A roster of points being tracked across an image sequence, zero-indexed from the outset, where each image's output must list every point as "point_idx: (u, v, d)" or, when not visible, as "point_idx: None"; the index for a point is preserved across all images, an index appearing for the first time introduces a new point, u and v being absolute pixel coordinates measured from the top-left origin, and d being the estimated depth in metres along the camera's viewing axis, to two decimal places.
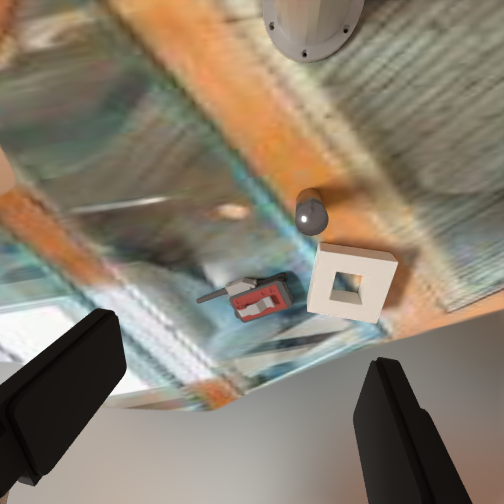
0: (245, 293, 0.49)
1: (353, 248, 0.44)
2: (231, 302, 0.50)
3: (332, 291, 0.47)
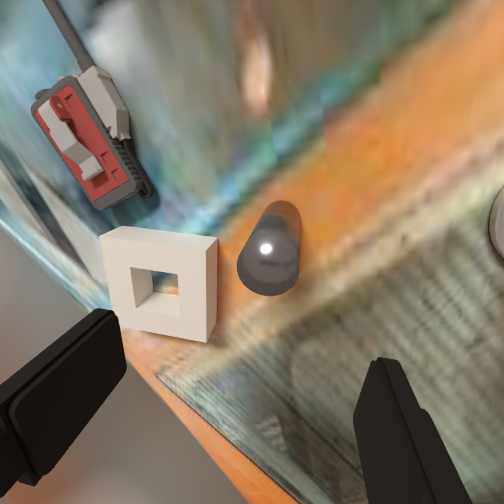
0: (93, 117, 0.24)
1: (215, 283, 0.31)
2: (63, 82, 0.23)
3: None
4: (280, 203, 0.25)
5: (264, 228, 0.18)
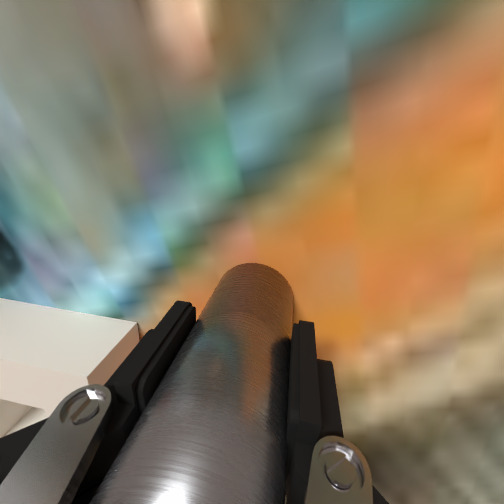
0: None
1: None
2: None
3: None
4: (248, 276, 0.11)
5: None
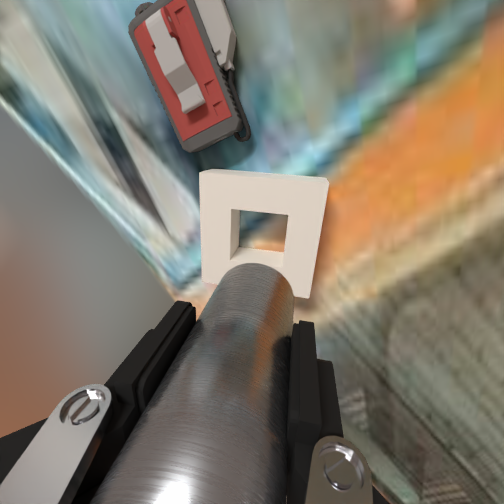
0: (203, 37, 0.21)
1: None
2: None
3: (238, 210, 0.28)
4: (248, 276, 0.11)
5: None
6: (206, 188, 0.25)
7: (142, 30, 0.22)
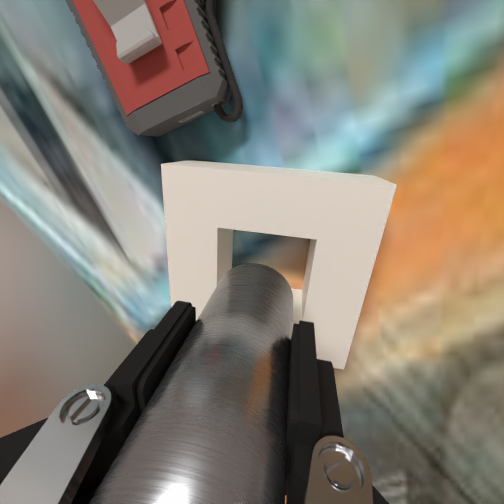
0: None
1: None
2: None
3: None
4: (248, 276, 0.11)
5: None
6: (174, 192, 0.14)
7: None
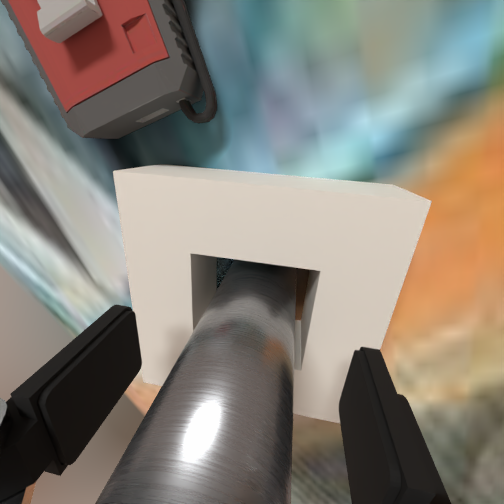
0: None
1: None
2: None
3: None
4: None
5: (191, 384, 0.06)
6: (133, 207, 0.11)
7: None
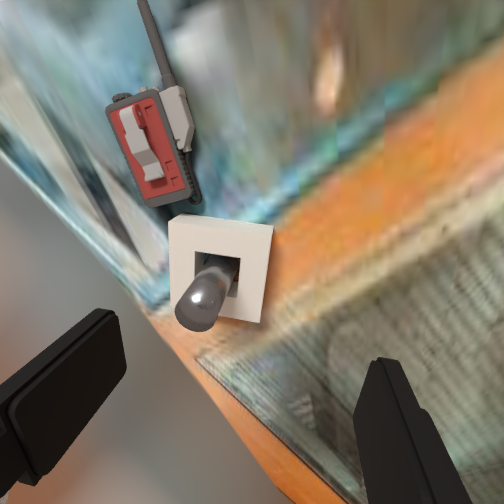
0: (166, 129, 0.27)
1: (267, 268, 0.34)
2: (147, 93, 0.26)
3: None
4: None
5: (197, 283, 0.26)
6: (174, 234, 0.30)
7: (117, 114, 0.27)
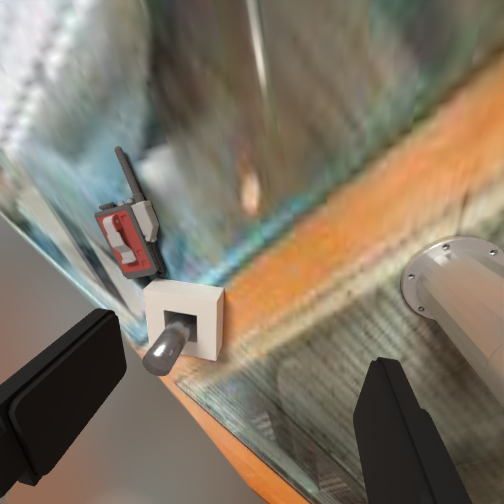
0: (136, 229, 0.38)
1: (222, 318, 0.44)
2: (122, 208, 0.37)
3: None
4: None
5: (159, 340, 0.36)
6: (147, 298, 0.41)
7: (102, 219, 0.38)
